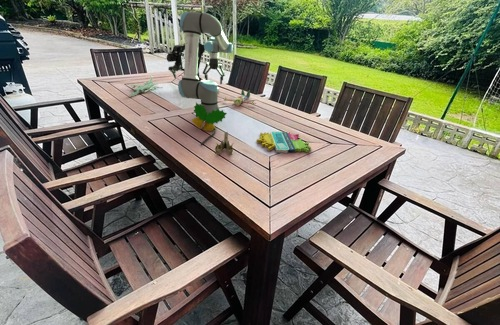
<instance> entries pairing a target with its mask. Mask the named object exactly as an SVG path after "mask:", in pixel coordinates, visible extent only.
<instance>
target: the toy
mask: <svg viewBox="0 0 500 325" xmlns="http://www.w3.org/2000/svg"><path fill="white" fill-rule="evenodd" d="M240 92H241V93H240V95H238V96H237V97H235V99H233V98H230V99H228V98H227V97H226V96H225V97H224V98H223V101H224V102H233V103H232V104H233V105H235V106H242V103H243V104H247V105H252V106H255V105H256V104H257V103H256V102H254V101H253V100H252V101H251V102H250V101H248V100H246V99H248V98H250V97H251V90H250V89H249V90H248V91H247V92H246V93H245V91H244V89H242V90H241V91H240Z"/></svg>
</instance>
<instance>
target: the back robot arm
mask: <svg viewBox="0 0 500 325" xmlns="http://www.w3.org/2000/svg"><path fill="white" fill-rule="evenodd" d="M183 52H185V43H182V44H175V45H173V48H172V50H171V52H168V53H167V55H166V61H167V62H169V63H172V62H174V64H173V65H171V66H170V65H169V66H168V71H169V72H171V73H172V75H173V78H174V79H175V80H176V78H177V72H179V71H181V72H182V73H183V74H184V66H183V64H184V62H183V56H185V53H183ZM205 52H206V50H205V48H204V43H203V44H202V43H201V42H199V43H198V65H197V77H198V78H199V82H200V81H201V80H202V77H200V66H201V61H202V56H203V54H204V53H205Z"/></svg>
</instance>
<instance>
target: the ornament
mask: <svg viewBox="0 0 500 325" xmlns="http://www.w3.org/2000/svg"><path fill="white" fill-rule="evenodd" d="M219 110H220V108H219V109H217V110H216V111H214V110H212V112H211V113H208V112H206V109H204V106H201V103H198V102H195V105H194V106H193V112H194V113H195V118H192V119H191V122H192V123H193V125H195V127H197V128H198V129H202V130H203V131H206V132H214V128H215V129H216V126H215V124H218V123H219V122H223V119H226V115H227V114H228V113H227V112H224V110H223V109H221V110H220V111H219ZM207 113H208V115H207ZM214 123H215V124H214Z"/></svg>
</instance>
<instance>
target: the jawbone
mask: <svg viewBox="0 0 500 325" xmlns="http://www.w3.org/2000/svg"><path fill="white" fill-rule="evenodd" d="M223 135H224V136H223V140H222V139H221V142H220V144H218V142H215V144H216V146H215V148H214V149H215V152H214V154H215V155H217V156H218V155H220V153H221V152H223V151H224V150H226V152H227V153H228V155H229V156H233V155H234V154H233V153H234V148H233V144H234V143H230V140H228V139H229V138H228V137H229V136H228V135H229V133H228V131H226V132H224V134H223Z"/></svg>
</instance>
